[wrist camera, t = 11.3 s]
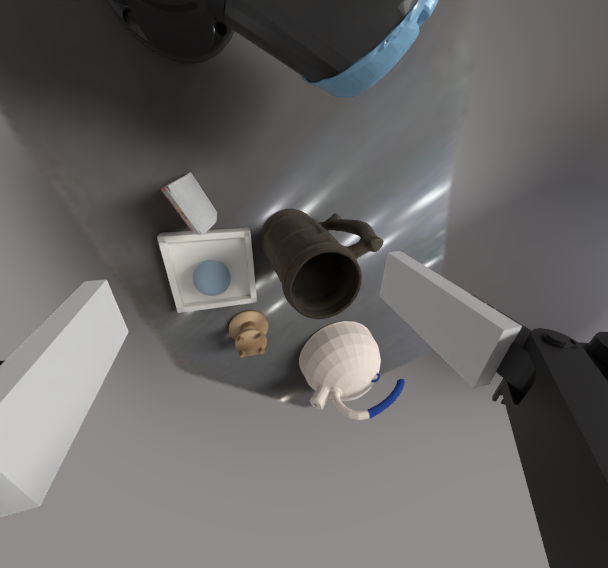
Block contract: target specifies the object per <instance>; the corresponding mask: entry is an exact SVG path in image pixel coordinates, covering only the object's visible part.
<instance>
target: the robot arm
mask: <svg viewBox="0 0 608 568" xmlns="http://www.w3.org/2000/svg"><path fill="white" fill-rule="evenodd" d="M106 1H107V2H108V4H109V5H110V7H111V8H112V9H113V11H114V12H115V14H116V15H117V16H118V17H119V19H120V20H121V21H122V22H123V24H124V25H125V26H126V27H127V28H128V30H129V31H130V32H131V33H132V34H133V35H134V36H135V37H136V38H137V39H138V40H140V41H141V42H142V43H143V44H144V45H146V46H147V47H148V48H150V49H151V50H153V51H154V52H156V53H158V54H160V55H162V56H164V57H166V58H168V59H171V60H174V61H178V62H184V63H197V62H202V61H205V60H208V59H210V58H212V57H214V56H215V55H217V54H218V53H219V52H221V51H222V50H223V49H224V47H225V46H226V45H227V44H228V42H229V41H230V39H231V37H232V35H233V33H234V31H236V32H237V33H239V34H240V35H242V36H243V37H245V38H246V39H248V40H249V41H251V42H252V43H254V44H255V45H257V46H258V47H260V48H261V49H263V50H264V51H266V52H267V53H269V54H270V55H272V56H273V57H275V58H276V59H278V60H279V61H281V62H282V63H284V64H285V65H287V66H288V67H290V68H291V69H293V70H294V71H296V72H297V73H299V74H300V75H302V78H303V79H304V80H305V81H306V82H307V83H308V84H310V85H314V86H319V87H320V88H322V89H324V90H325V91H327V92H329V93H330V94H332V95H334V96H336V97H343V98H348V97H349V98H350V97H354V96H357V95H359V94H361V93H363V92H365V91H366V90H368V89H369V88H371V87H372V86H373V85H375V84H376V83H377V82H378V81H379V80H380V79H381V78H383V77H384V76H385V75H386V74H387V73H388V72H389V71H390V70H391V69H392V68H393V66H394V65H395V64H396V63H397V62H398V61H399V60H400V59H401V57H402V56H403V55H404V54H405V52H406V51H407V50H408V49H409V47H410V46H411V45H412V43H413V42H414V40H415V39H416V37H417V36H418V34H419V26H420V25H421V24H422V23H423V22H424V21H425V20H426V19H427V18H429V17H430V15H431V14H432V12H433V10H434V8H435V6H436V4H437V2H438V0H106ZM380 297H381V298H382V299H383V300H384V301H385V302H386V303H387V304H388V305H389V306H390V307H391V308H392V309H393V310H394V311H395V312H396V313H397V314H398V315H400V316H401V317H402V318H403V319H404V320H405V321H406V322H407V323H408V324H409V325H410V326H411V327H412V328H413V329H414V330H415V331H416V332H417V333H418V334H419V335H420V336H421V337H422V338H423V339H424V340H425V341H426V342H427V343H428V344H429V345H430V346H431V347H432V348H433V349H434V350H435V351H436V352H437V353H438V354H439V355H440V356H441V357H442V358H443V359H444V360H445V361H446V362H447V363H448V364H449V365H450V366H451V367H452V368H453V369H454V370H455V371H456V372H457V373H458V374H459V375H460V376H461V377H462V378H463V379H464V380H465V381H466V382H467V383H468V384H469V385H470V386H471V387H473V388H476V387H480V386H484V385H487V384H490V382H491V380H492V379H493V377H494V375H495V373H496V372H497V373H498V374H499V375H501V376H502V377H503V380H502V381H501V383H500V385H499V386H498V388H497V390H496V391H495V393H494V395H493V398H492V399H493V401H496V400H497V399H498V397H499V396H500V395H503V400H502V402H501V403H502V404H505V405H506V409H507V413H508V416H509V420H510V424H511V427H512V431H513V435H514V438H515V442H516V445H517V449H518V453H519V456H520V460H521V463H522V467H523V471H524V475H525V478H526V482H527V486H528V489H529V493H530V497H531V500H532V504H533V508H534V511H535V515H536V519H537V522H538V526H539V530H540V533H541V537H542V541H543V544H544V548H545V552H546V555H547V559H548V563H549V566H550V568H608V332H599V333H597V334H596V335H595V336H594V337H593V339H592V340H591V341H590V342H589V343H578V342H576V341H575V340H574V339H571V338H570V337H568V336H566V335H564V334H561V333H559V332H556V331H553V330H549V329H543V328H538V329H534V330H532V331H531V330H530V329H528V328H526V327H525V326H523V325H521V324H520V323H518V322H517V321H515V320H513V319H512V318H510V317H508V316H507V315H505V314H503V313H502V312H500V311H499V310H495V309H494V307H492V306H490V305H489V304H485V302H484V301H482V300H481V299H479V298H477V297H476V296H474V295H471V294H469V293H467V292H466V291H464V290H463V289H461V288H459V287H458V286H456V285H455V284H453V283H451V282H450V281H448V280H446V279H445V278H443V277H442V276H440V275H438V274H437V273H435V272H433V271H432V270H430V269H429V268H427V267H425V266H424V265H422V264H420V263H419V262H417V261H416V260H414V259H412V258H411V257H409V256H407V255H406V254H404V253H403V252H401V251H397V252H388V255H387V260H386V265H385V270H384V276H383V281H382V286H381V291H380ZM127 334H128V329H127V327H126V324H125V322H124V320H123V318H122V315H121V313H120V311H119V308H118V305H117V303H116V301H115V299H114V296H113V294H112V291H111V289H110V286H109V284H108V282H107V280H97V281H88V282H87V281H86V282H84V283H83V284H82V285H81V286H80V287H79V288H78V289H77V290H76V291H75V292H74V293H73V294H72V295H71V296H70V297H69V298H68V299H67V300H66V301H65V302H64V303H63V304H62V305H61V306H60V307H59V308H58V309H57V310H56V311H55V312H54V313H53V314H52V315H51V316H50V317H49V318H48V319H47V320H46V321H45V322H44V323H43V324H42V325H41V326H40V327H39V328H38V329H37V330H36V331H35V332H34V333H33V334H32V335H30V337H29V338H27V339H26V341H25V342H23V343H22V344H21V346H20V347H18V348H17V349H16V350H15V351H14V352H13V353H12V354H11V355H10V356H9V357H8V358H7V359H6V360H5V361H0V517H2V516H6V515H10V514H14V513H17V512H21V511H24V510H28V509H31V508H36V507H39V506H40V505H41V503H42V501H43V499H44V497H45V495H46V493H47V491H48V489H49V487H50V485H51V483H52V481H53V479H54V477H55V475H56V474H57V472H58V469H59V468H60V466H61V464H62V462H63V460H64V458H65V456H66V454H67V452H68V450H69V448H70V446H71V444H72V442H73V440H74V438H75V436H76V434H77V432H78V430H79V428H80V426H81V424H82V422H83V420H84V418H85V416H86V414H87V412H88V411H89V409H90V407H91V405H92V403H93V401H94V399H95V397H96V395H97V393H98V391H99V389H100V387H101V385H102V383H103V381H104V379H105V377H106V375H107V373H108V371H109V369H110V367H111V365H112V363H113V361H114V359H115V357H116V355H117V353H118V351H119V349H120V348H121V346H122V344H123V342H124V340H125V338H126V336H127Z"/></svg>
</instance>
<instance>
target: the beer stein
mask: <svg viewBox="0 0 608 568" xmlns="http://www.w3.org/2000/svg"><path fill="white" fill-rule="evenodd" d="M328 230H336V231H344V232H348V233H352V234H355V235H358V236H360V237H361V238H360V240H359V242H357V243H356V244H354V245H351V246H348V247H346V246H343V245H341V244H339V243H338V241H337V240H336V239H335V238H334V237H333V236H332V235H331V234H330V233H329V232H328ZM261 245H262V249H263V251H264V253H265V255H266V257H267V259H268V260H269V262H270V263H271V264H272V266H273V268H274V270H275V272H276V274H277V275H278V277H279V279H280V281H281V283H282V288H283V292H284V295H285V298H286V300H287V301H288V302H289V304H290V305H291V306H292V307H293V308H294V309H295V310H296V311H297V312H299V313H300V314H302V315H304V316H305V317H308V318H313V319H325V318H330V317H332V316H335V315H337V314H339V313H341V312H342V311H344V310H345V309H346V308H347V307H348V306H350V305H351V303H352V302H353V301H354V300H355V298H356V297H357V294H358V292H359V290H360V287H361V279H362V274H361V269H360V266H359V264H358V262H357V260H356V259H357V258H358V257H360V256H362V255H364V254H365V253H367V252H369V251H371V252H377V251H378V250H379V249H380V248H381V247H382V245H383V240H382V239H381V238H379V237H377V236H376V235H375V233H374V231H373V229H372V227H371V226H370V225H369V224H367V223H365V222H362V221H358V220H343V219H341V218H340V216H339V215H337V214H333V215H332V216H331V217H330V218H329V219H328V220H326V221H325V222H321V223H318V222H316V221H315V220H314V219H312V218H310V217H309V216H308V215H307V214H306V213H304V212H302V211H300V210H295V209H285V210H281V211H279V212H277V213H275V214H274V215H272V216H271V217H270V218H269V219H268V220H267V221H266V223H265V224H264V227H263V229H262V233H261Z"/></svg>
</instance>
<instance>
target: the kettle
mask: <svg viewBox="0 0 608 568" xmlns="http://www.w3.org/2000/svg"><path fill="white" fill-rule="evenodd" d="M380 362H381V359H380V354H379V349H378V345H377V343H376V342H375V340H374V339H373V337H372V335H371V333H370V332H369V330H368V329H367V328H366V327H365V326H363V325H362V324H359V323H356V322H347V321H343V322H338V323H334V324H331V325H329V326H327V327H324V328H322V329H321V330H319V331H318V332H317V333H315V334H314V335H313V336H312V337H311V338H310V339H309V340H308V341H307V342H306V344H305V345H304V347H303V349H302V350H301V354H300V357H299V367H300V369H301V371H302V373H303V374H304V376H305V378H306V380H307V382H308V384H309V386H310V387H312V388H313V389H314V390H315V393H314V394H313V396H312V398H310V402H311V404H312V405H313V406H314V407H315V408H316V409H318V410H322V409H323V407H324V405H325V403H326V402H327V400H328V399H331V400H332V401H333V403H334V405H335V407H336V408H337V410H338V411H339V412H340V413H341V414H343V415H345V416H347V417H348V418H351V419H356V420H362V419H368V418H372V417H374V416H375V415H377V414H379V413H381V412H382V411H383V410H385V409H386V408H387V407H389V406H390V405H391V404H392V403H393V402H394V401H395V400H396V398H397V397H398V396H399V395H400V393H401V391H402V389H403V387H404V383H405V381H404V379H400V380H398V381H397V384H396V386H395V388H394V390H393V391H392V392H391V394H390V395H389V396H388V397H387V398H386V399H385V400H383V401H382V402H381V403H379V404H378V405H376V406H374V407H372V408H370V409H368V410H365V411H355V410H351V409H349V408H347V407H346V406H345V405H344V404H343V403H342V402H341V401H349V400H354V399H357V398H359V397H361V396H362V395H364V394H365V393H366V392H367V391H368V390H370V388H371V387H372V385H373V384H374V382H377V381H378V380H379V378H380V375H379V368H380ZM377 377H378V378H377Z"/></svg>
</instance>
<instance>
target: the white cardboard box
mask: <svg viewBox="0 0 608 568" xmlns="http://www.w3.org/2000/svg"><path fill="white" fill-rule="evenodd" d="M161 191H162V192H163V193H164V195H165V196H166V197H167V199H168V200H169V201H170V203H171V204H172V205H173V207H174V208H175V209H176V211H177V212H178V213H179V215H180V216H181V217H182V219H183V220H184V222H185V223H186V224H187V226H188V227H189V228H190V230H191V231H192V232H193V234H197V235H200V236H201V233H202V234H203V235H205V233H206V232H207V231H208V230H209V229H210V228H211V227H212V226H213V225H214V223H215V222H216V220H217V212H216V210H215V209H214V207H213V205H212V204H211V202H210V201H209V199H208V198H207V196H206V195H205V193H204V192H203V190H202V189H201V187H200V186H199V184H198V182H197V181H196V179H195V178H194V176H193V175H192V173H191V172H190V173H188V174H186V175H184V176H182V177H180V178H179V179H177V180H175V181H173V182H171V183H169V184H168V185H166V186H164V187H163V188H161ZM200 232H201V233H200Z"/></svg>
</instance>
